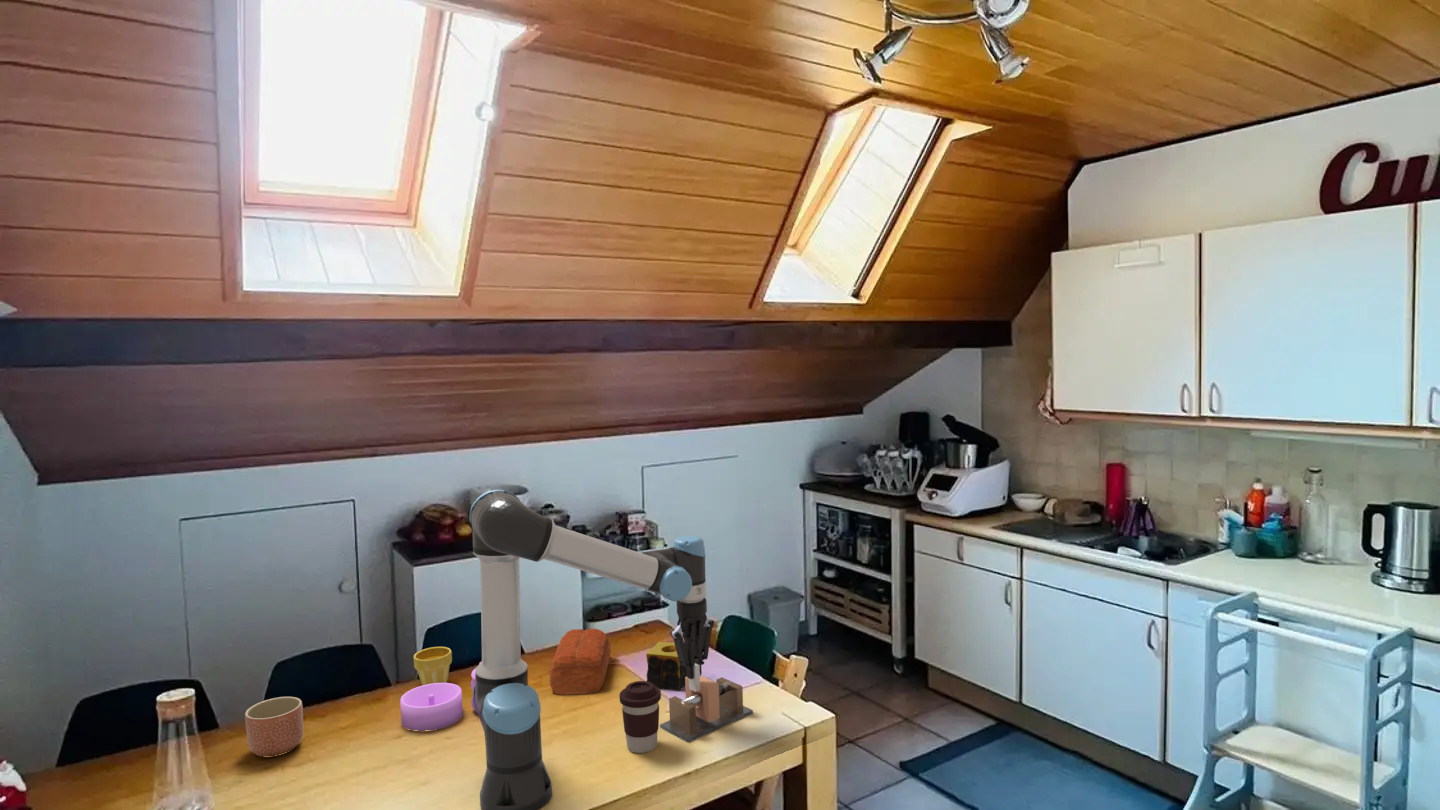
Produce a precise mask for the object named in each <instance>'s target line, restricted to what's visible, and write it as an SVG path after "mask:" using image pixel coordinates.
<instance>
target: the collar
mask: <svg viewBox="0 0 1440 810" xmlns="http://www.w3.org/2000/svg"><path fill="white" fill-rule="evenodd" d="M684 686H685V688H684V689H685V699H687V698H689V697H692V696H694V695H696V694H699V693H702V697H703V703H701V704H698V705H696V716H697V717H699V718H701V719H703V720H705V721H707V722H712V721H714V720H716V719H718V718H720V714H719V683H716V681H713V680H711V679H709V678H708V677H704V676H703V675H701V676H700V690H699V691H697V692H695V691H693V690H691V689H689V678H687V677H685V685H684Z"/></svg>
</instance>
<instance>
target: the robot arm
mask: <svg viewBox="0 0 1440 810" xmlns="http://www.w3.org/2000/svg"><path fill="white" fill-rule="evenodd" d="M469 510H470V511H469V522H470V526H471V527H472V554H473V555H474V556H475V557H476V558H478V559H479V564H480V566H479V567H480V568H479V569H480V614H481V615H480V616H481V617H480V618H481V619H480V621H481V624H480V625H481V630H480V631H481V661H480V662H481V663H480V662H479V664H478V666H476V667H475V668H476V670H475V685H474V690H472V697H473V703H474V706H475V709H476V711H477V712H476V711H475V712H476V713H477V715H478V717H479V721H480V724H481V727H482V730H483V732H484V741H485V758H486V759H485V760H486V761H485V762H486V769H485V773H484V777H483V780H482V785H481V789H480V792H479V805H480V809H481V810H541V809H542V808H544V807H546V805H547V804H548V803H549V802H550V800H551V798H552V796H553V785H552V780H551V777H550V775H549V772H548V770H547V768H546V765H545V763H544V761H543V750H542V749H543V747H542V728H541V707H542V706H541V702H540V698H539V695H538V692H537V690H536V689H534V688H533V687H532V686H530V685H529V681H528V680H529V678H528V676H529V675H528V673H529V672H528V663H527V662H526V660H525V661H524V660H523V659H522V658H521V656H522V655H521V590H520V589H521V587H520V586H521V585H520V582H521V581H520V575H521V574H520V573H521V572H520V558H521V559H525V560H528V561H532V562H536V563H539V562H541V561H543V560H546V561H549V562H552V563H556V564H559V565H563V566H566V567H569V568H573V569H576V570H579V571H582V572H586V573H589V574H593V575H597V576H599V577H603V578H606V579H609V580H613V581H616V582H619V583H623V584H625V585H629V586H633V587H636V588H639V589H643V590H646V591H649V592H652V593H655V594H657V595H661V596H662V597H663V598H664V599H667V600H668V601H672V602H676V614H677V617H678V620H677V623H676V624H677V626H676V628H675V629H674V630H673V629H672V630H670V632H669V634H670V636H671V638H672V639H673V643H675V647H676V651H677V655H678V659H679V663H680V664H681V665H684V666H686V671H687V678H689V689H691V690H693V691H695V692H697V691H699V690H700V676H702V673H703V672H702V666H703V665H704V664H705V661H704V660H708V658H709V657H708V656H709V649H710V643H711V637H712V629H713V628H714V625H715V620H713V619H710V618H708V617H707V611H708V609H707V608H708V606H707V599H706V597H707V583H706V582H707V581H706V580H707V579H706V550H705V542H704V539H702V537H699V536H698V535H697V536H696V535H682V536H680V537H676V538H675V539H674V542H673V543H674V544H673V547H668V548H663V549H662V548H661V549H655V550H647V551H641V552H639V551H636V550H632V549H630V548H626V547H624V546H621V545H617V544H615V543H611V542H608V541H605V540H603V539H600V538H596V537H592V536H590V535H587V534H583V533H580V532H577V531H575V530H571V529H568V528H565V527H563V526H559V525H556V524H555V522H554V519H552V518H550V517H547V516H543V515H541V514H540V513H538V512H536V511H534V510H532V509H530V508H529V507H528V506H526V505H525V504H524V503H523V502H522V501H521V499H520V498H519V497H518V496H517V495H516V494H514V493H513V492H510V491H507V490H503V489H492V490H487V491H485V492H484V493H481V495H479V496H478V497H477V498H476V499H475V500H474V502H473V503H472V506H471V507H470V509H469Z"/></svg>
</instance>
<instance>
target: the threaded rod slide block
mask: <svg viewBox="0 0 1440 810" xmlns="http://www.w3.org/2000/svg"><path fill="white" fill-rule="evenodd" d="M715 682H716V683H719V714H720V718H718V719H716V720H714V721H712V722H707V721H705V720H703V719H701V718H699V717H697V716H696V705H698V704H701V703H703V697H702V693H699V694H696V695H694V696H692V697H689V698H687V699H686V698H684V699H682V698H680V697H679V696H675V695H674V696H672V697H670V698H668V705H669V706H668V707H669V711H668V712H669V720H667V721H664V722H663V723H660V724H659V729H663V730H664V731H665V732H668V733H670V734H671V735H673V736H675V737H677V738H679V739H680V740H682V741H684V742H686V743H690V742H693V741H695V740H696V739H699V738H701V737H703V736H705V735H708V734H710V733H712V732H714V731H717V730H719V729H721V728H723V727H725V726H727V725H730V724H731V723H734V722H736V721H738V720H741V719H743V718H745V717H747V716H749V715H752V714H753V713H754V710H753V709H751V708H749V707H747V706H745V705H744V696H743V694H744V693H743V685H740V684H738V683H735V682H733V681H731V680H729V679H727V678H725V677H719V678H716V681H715Z"/></svg>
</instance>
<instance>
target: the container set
mask: <svg viewBox="0 0 1440 810" xmlns="http://www.w3.org/2000/svg"><path fill="white" fill-rule="evenodd" d="M481 662H482V661H480V662H479V664H480V663H481ZM476 668H477V667H475V668H474V669H473V670H472V671H471V674H470V676H471V678H472V679H471V682H470V689H472V691H473V690H474V685H475V670H476ZM470 701H471V707H472V709H473V710H474V711H475V712H476V713H477V711H476V709H475V706H474V703H473V696H472V698H471V700H470ZM399 702H400V703H399V704H400V705H399V706H400V717H401V718H400V719H401V726H402V725H403V726H404V727H405V728H407V729H410V730H418V731H425V730H435V729H439V730H441V728H442V729H445V728H448V727H450V726H453V725H454V724H456V723H458V722H459V721H460V720H461V719H462V717H463V716H464V715H463V714H464V706H463V690H462V688H461V686H460V685H457V684H456V683H452V682H451V683H450V682H447V683H433V684H427V685H423V686H422V685H420V686H417V687H414V688H412V689H410V690H408V691H406V692H405V693H403V695H402V696H401V697H400V700H399ZM460 718H461V719H460ZM459 719H460V720H459ZM455 722H456V723H455ZM453 723H454V724H453ZM449 725H450V726H449ZM403 726H402V727H403ZM447 726H448V727H447ZM404 727H403V728H404ZM444 727H445V728H444ZM405 728H404V729H405ZM407 729H406V730H407ZM410 730H409V731H410ZM435 731H436V730H435Z"/></svg>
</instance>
